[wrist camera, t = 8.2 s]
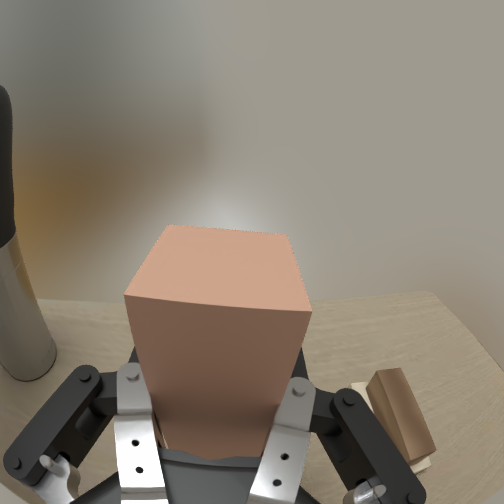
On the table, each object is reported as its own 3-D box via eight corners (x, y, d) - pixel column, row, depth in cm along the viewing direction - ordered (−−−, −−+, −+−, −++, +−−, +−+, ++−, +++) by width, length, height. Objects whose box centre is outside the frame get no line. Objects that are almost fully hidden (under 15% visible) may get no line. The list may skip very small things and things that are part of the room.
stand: (373, 488, 17) (398, 473, 15) (346, 390, 29) (361, 365, 27) (424, 470, 17) (450, 452, 15) (391, 384, 30) (408, 360, 27)
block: (174, 460, 11) (123, 294, 6) (183, 400, 15) (168, 224, 10) (254, 467, 12) (312, 311, 6) (252, 406, 16) (287, 234, 10)
